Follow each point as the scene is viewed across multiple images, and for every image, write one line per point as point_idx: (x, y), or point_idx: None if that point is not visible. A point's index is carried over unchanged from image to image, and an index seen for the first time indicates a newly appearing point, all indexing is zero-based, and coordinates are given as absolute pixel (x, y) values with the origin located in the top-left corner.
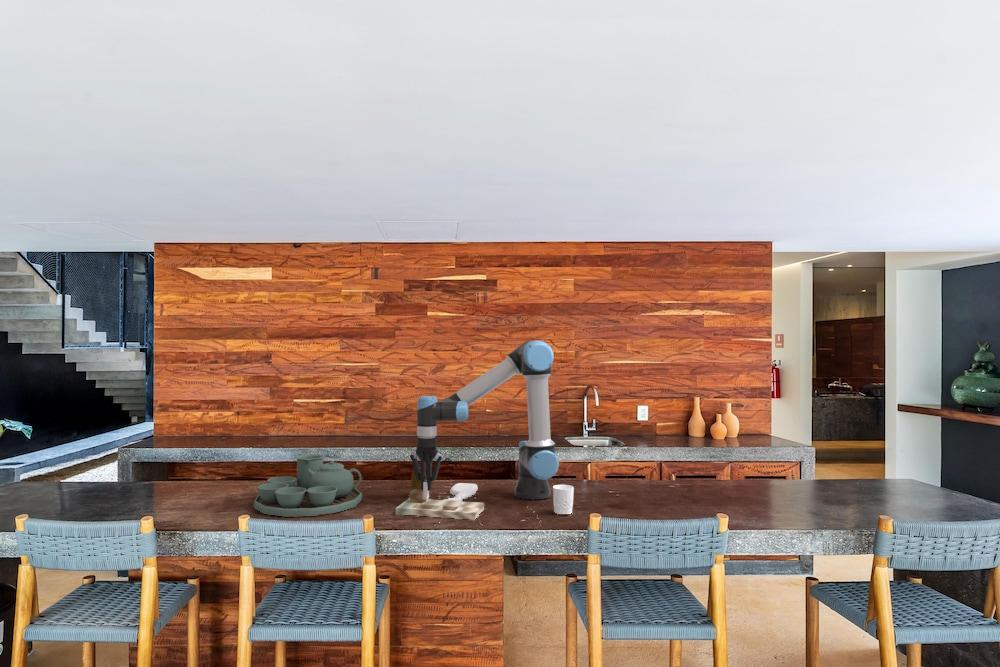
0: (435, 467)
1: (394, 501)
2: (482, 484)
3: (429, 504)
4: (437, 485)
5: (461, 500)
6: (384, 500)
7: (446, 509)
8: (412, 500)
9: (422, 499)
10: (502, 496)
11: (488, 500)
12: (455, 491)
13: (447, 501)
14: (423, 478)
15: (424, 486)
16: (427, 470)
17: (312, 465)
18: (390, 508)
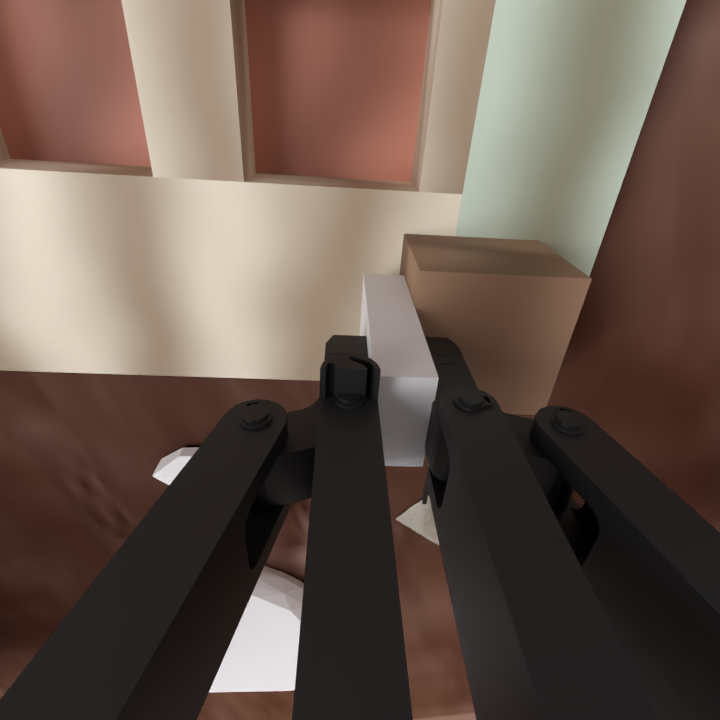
0: (86, 700)
1: (644, 412)
2: (217, 709)
3: (317, 207)
4: (420, 675)
5: (159, 468)
6: (716, 422)
7: (128, 170)
8: (516, 245)
9: (408, 254)
10: (5, 596)
11: (29, 527)
12: (266, 593)
13: (187, 347)
14: (453, 425)
15: (409, 343)
16: (386, 576)
17: None
18: (689, 221)
